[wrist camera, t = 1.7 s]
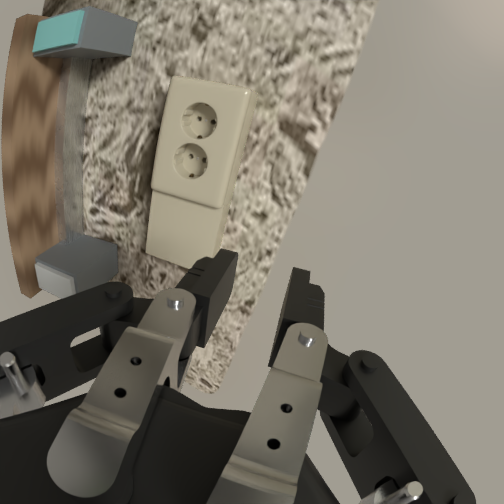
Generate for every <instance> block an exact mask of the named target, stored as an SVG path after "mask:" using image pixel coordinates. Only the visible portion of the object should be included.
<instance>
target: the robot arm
mask: <svg viewBox="0 0 504 504" xmlns="http://www.w3.org/2000/svg"><path fill="white" fill-rule="evenodd" d="M237 260H238V253H237V252H233V251H230V250H226V249H222V248H221V249H220V250H219V251H218V253H217V254H216V255H215V257H214V258H211V257H207V256H206V257H203V258H201V259H199V260H197V261H196V262H195V263H194V265H193V266H192V268H190V270H189V271H188V273H186V275H185V276H184V277H183V278H182V280H181V281H180V282H179V283H178V284H177V286H176V287H175V288H168V289H164V290H162V291H160V292H159V293H158V294H157V295H156V296H155V298H154V299H145V298H135V297H133V290H132V289H131V287H130V286H128V285H127V284H124V283H121V282H107V283H104V284H101V285H98V286H96V287H93V288H90V289H87V290H85V291H82V292H79V293H76V294H74V295H71V296H68V297H66V298H63V299H60V300H57V301H55V302H52V303H49V304H47V305H45V306H41V307H39V308H36V309H33V310H31V311H28V312H26V313H23V314H20V315H17V316H15V317H12V318H10V319H7V320H5V321H2V322H0V504H340V503H339V502H338V500H337V499H336V497H335V496H334V494H333V493H332V492H331V490H330V489H329V487H328V486H327V484H326V483H325V481H324V480H323V478H322V476H321V475H320V473H319V472H318V470H317V469H316V467H315V466H314V464H313V463H312V461H311V460H310V458H309V457H308V455H307V454H306V450H307V446H308V443H309V439H310V435H311V431H312V428H313V424H314V419H315V415H316V412H317V409H318V410H320V416H321V418H322V420H323V422H324V424H325V426H326V428H327V431H328V433H329V435H330V437H331V439H332V441H333V443H334V445H335V447H336V449H337V451H338V453H339V455H340V457H341V459H342V461H343V463H344V465H345V467H346V469H347V471H348V473H349V475H350V477H351V479H352V481H353V483H354V485H355V487H356V489H357V491H358V493H359V495H360V497H361V499H362V500H361V501H360V503H359V504H476V499H475V496H474V493H473V492H472V490H471V488H470V487H469V485H468V484H467V482H466V481H465V479H464V477H463V476H462V474H461V473H460V471H459V469H458V468H457V466H456V465H455V463H454V462H453V460H452V459H451V457H450V456H449V454H448V453H447V451H446V449H445V448H444V446H443V445H442V443H441V442H440V440H439V439H438V438H437V436H436V434H435V433H434V431H433V430H432V429H431V427H430V426H429V424H428V423H427V421H426V420H425V419H424V417H423V415H422V414H421V412H420V411H419V410H418V408H417V407H416V405H415V404H414V402H413V401H412V399H411V398H410V397H409V395H408V394H407V392H406V391H405V390H404V388H403V387H402V385H401V384H400V382H399V381H398V380H397V379H396V377H395V375H394V374H393V373H392V371H391V370H390V369H389V368H388V366H387V364H386V363H385V362H384V361H383V359H382V358H381V357H379V356H378V355H376V354H375V353H372V352H369V351H365V350H359V351H355V352H353V353H352V354H351V355H350V357H349V356H347V355H345V354H342V353H340V352H338V351H337V350H335V349H334V348H332V347H331V346H330V345H329V344H328V338H327V335H326V334H325V333H324V292H323V290H322V289H321V287H320V286H318V285H314V284H311V283H309V280H310V271H307V270H303V269H299V268H295V267H293V270H292V273H291V276H290V280H289V284H288V287H287V291H286V295H285V298H284V302H283V306H282V309H281V314H280V318H279V322H278V326H277V331H276V335H275V339H274V343H273V348H272V352H271V356H270V360H269V364H268V367H271V369H270V371H269V374H268V376H267V379H266V381H265V383H264V385H263V388H262V390H261V392H260V395H259V397H258V399H257V401H256V404H255V406H254V408H253V410H252V412H251V413H250V412H246V411H239V410H226V409H215V408H206V407H203V406H201V405H200V404H198V403H196V402H194V401H193V400H191V399H190V398H188V397H186V396H185V395H183V394H181V393H180V391H181V389H182V386H183V383H184V380H185V377H186V374H187V371H188V368H189V365H190V362H191V358H192V353H193V351H194V349H195V347H196V346H199V347H202V348H205V346H206V344H207V342H208V340H209V338H210V336H211V334H212V332H213V330H214V328H215V326H216V324H217V322H218V320H219V318H220V316H221V314H222V312H223V310H224V308H225V306H226V304H227V302H228V300H229V297H230V295H231V292H232V288H233V283H234V277H235V272H236V266H237ZM98 327H99V328H100V333H101V335H98V336H96V337H94V338H92V339H89V340H87V341H85V342H83V343H80V344H78V345H76V346H73V347H71V348H70V344H71V342H72V340H73V339H74V338H75V337H77V336H79V335H81V334H84V333H86V332H88V331H91V330H93V329H96V328H98ZM94 378H96V379H95V381H94V383H93V384H92V386H91V388H90V390H89V392H88V393H85V394H82V395H79V396H76V397H73V398H70V399H67V400H64V401H61V402H58V403H54V404H51V405H48V406H45V407H43V406H44V404H45V402H46V401H49V400H51V399H53V398H55V397H57V396H59V395H61V394H63V393H65V392H67V391H70V390H71V389H74V388H75V387H78V386H80V385H82V384H84V383H86V382H88V381H90V380H92V379H94ZM367 418H368V419H367ZM370 423H371V424H370Z"/></svg>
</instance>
